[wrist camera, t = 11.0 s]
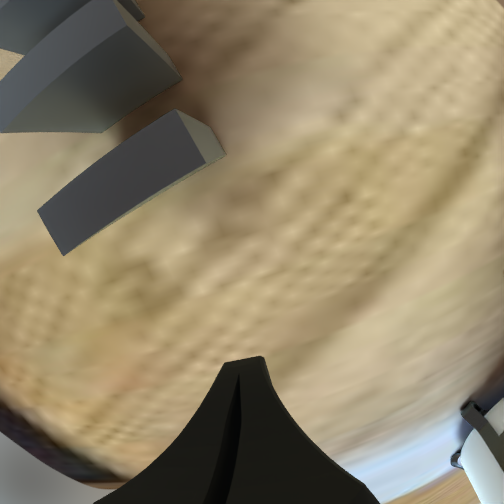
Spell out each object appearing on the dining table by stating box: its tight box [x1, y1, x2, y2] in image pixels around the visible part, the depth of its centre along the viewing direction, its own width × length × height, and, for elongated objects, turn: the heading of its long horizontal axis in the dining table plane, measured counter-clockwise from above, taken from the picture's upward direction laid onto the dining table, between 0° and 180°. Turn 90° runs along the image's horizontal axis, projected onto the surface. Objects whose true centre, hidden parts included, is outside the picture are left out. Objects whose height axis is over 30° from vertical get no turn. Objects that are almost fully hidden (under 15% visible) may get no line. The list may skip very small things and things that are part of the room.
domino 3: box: [37, 109, 226, 256], centre depth 12 cm, size 5×2×8 cm, turn 118°
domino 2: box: [0, 0, 183, 133], centre depth 10 cm, size 5×2×8 cm, turn 118°
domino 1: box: [0, 0, 145, 55], centre depth 9 cm, size 5×2×8 cm, turn 118°
